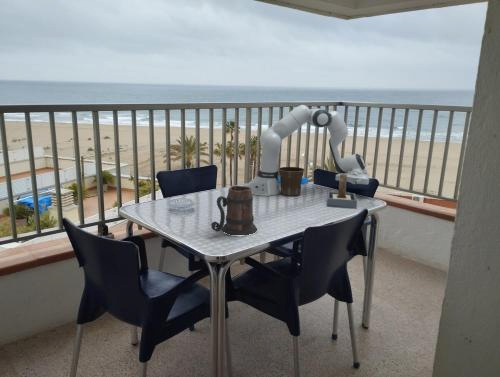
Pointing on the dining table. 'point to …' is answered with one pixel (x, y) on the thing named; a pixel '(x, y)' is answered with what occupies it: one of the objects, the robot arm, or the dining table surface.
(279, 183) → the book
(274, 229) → the dining table surface
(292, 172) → the plant pot
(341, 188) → the peg
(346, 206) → the tray
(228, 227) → the tankard
